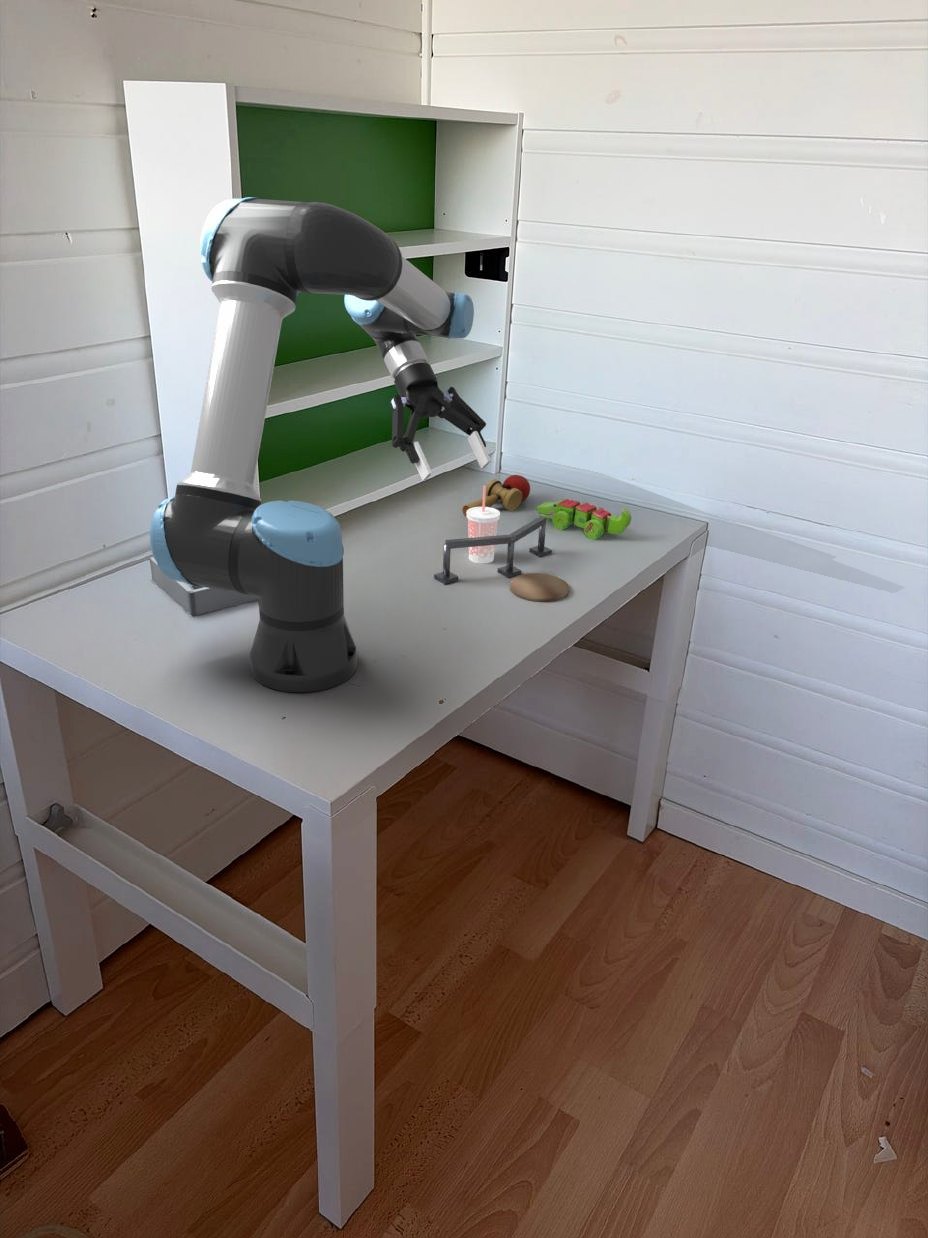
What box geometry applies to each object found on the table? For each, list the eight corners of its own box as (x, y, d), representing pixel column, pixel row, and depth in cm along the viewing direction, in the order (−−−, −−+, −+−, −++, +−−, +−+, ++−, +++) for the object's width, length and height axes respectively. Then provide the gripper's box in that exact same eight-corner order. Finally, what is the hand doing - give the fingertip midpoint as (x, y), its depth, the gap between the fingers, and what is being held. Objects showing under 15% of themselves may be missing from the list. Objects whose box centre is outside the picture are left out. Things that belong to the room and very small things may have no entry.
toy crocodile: (531, 522, 190) (533, 493, 188) (548, 513, 195) (551, 485, 193) (617, 547, 180) (620, 517, 177) (633, 537, 185) (637, 508, 182)
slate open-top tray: (192, 616, 148) (189, 593, 146) (152, 579, 159) (149, 557, 157) (270, 595, 155) (269, 573, 153) (227, 562, 167) (225, 541, 165)
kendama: (485, 530, 189) (541, 498, 200) (479, 501, 186) (536, 470, 197) (458, 526, 194) (514, 495, 205) (451, 497, 192) (509, 468, 202)
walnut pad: (536, 607, 155) (537, 602, 155) (498, 585, 162) (498, 581, 162) (580, 592, 160) (581, 588, 160) (541, 572, 167) (541, 568, 167)
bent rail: (458, 592, 159) (459, 552, 155) (434, 578, 164) (435, 538, 160) (566, 560, 173) (570, 523, 169) (541, 548, 178) (544, 511, 174)
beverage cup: (501, 554, 174) (505, 482, 168) (493, 567, 169) (497, 492, 163) (469, 550, 176) (472, 478, 169) (460, 562, 170) (463, 488, 164)
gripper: (455, 376, 186) (499, 469, 182) (347, 391, 172) (392, 492, 168) (472, 353, 180) (519, 449, 176) (362, 367, 166) (410, 471, 162)
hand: (457, 470), depth 172 cm, fingers open, 13 cm apart
